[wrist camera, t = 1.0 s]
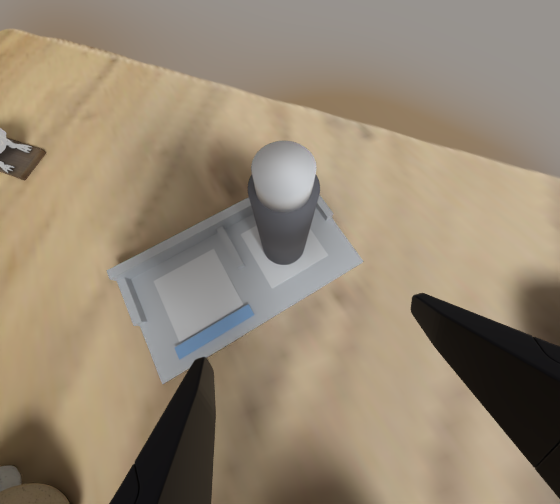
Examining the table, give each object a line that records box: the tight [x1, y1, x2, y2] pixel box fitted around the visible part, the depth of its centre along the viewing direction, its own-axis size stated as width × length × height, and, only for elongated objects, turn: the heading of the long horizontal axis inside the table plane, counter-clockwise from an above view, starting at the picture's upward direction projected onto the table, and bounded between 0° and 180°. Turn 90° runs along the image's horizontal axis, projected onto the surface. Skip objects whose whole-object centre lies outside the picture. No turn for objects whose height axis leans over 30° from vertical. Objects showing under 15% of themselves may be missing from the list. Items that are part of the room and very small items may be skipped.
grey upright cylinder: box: [248, 141, 320, 265], centre depth 19 cm, size 5×5×13 cm
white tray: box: [107, 195, 364, 384], centre depth 24 cm, size 23×12×2 cm, turn 121°
